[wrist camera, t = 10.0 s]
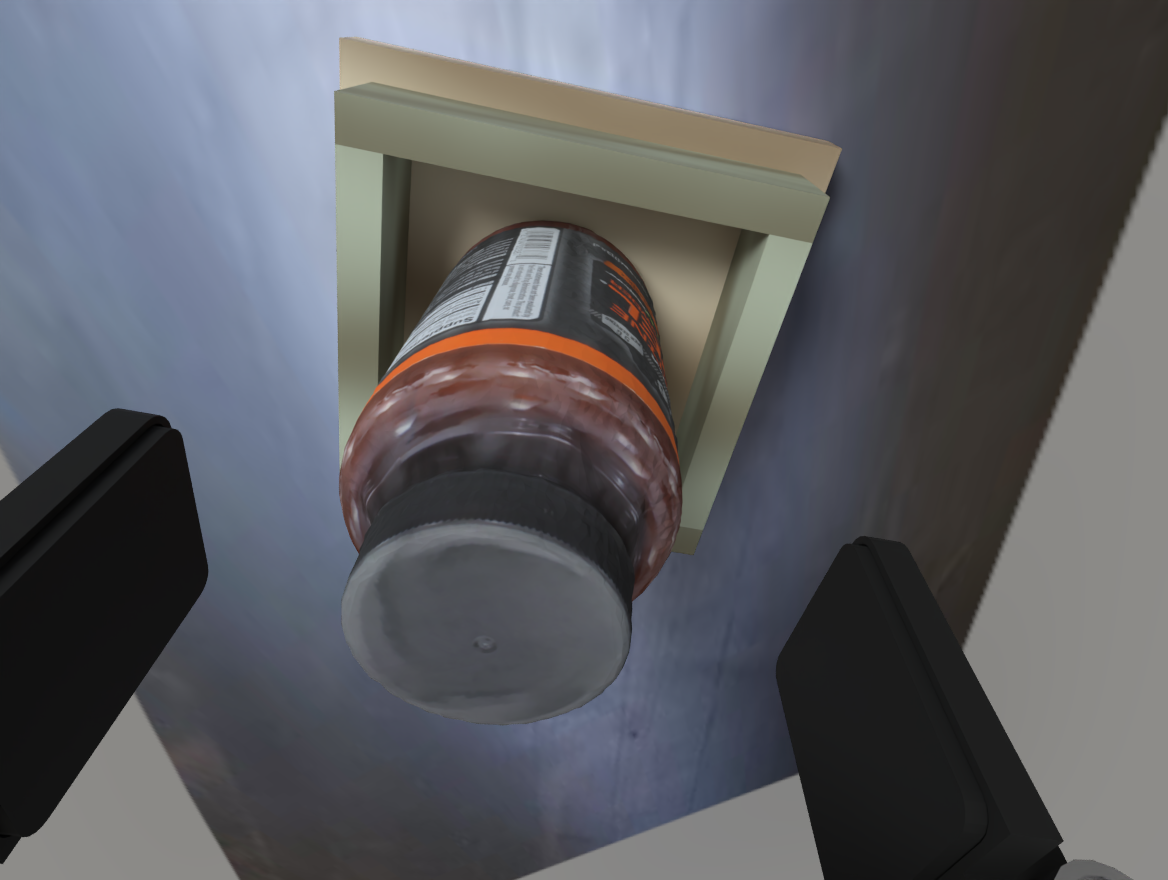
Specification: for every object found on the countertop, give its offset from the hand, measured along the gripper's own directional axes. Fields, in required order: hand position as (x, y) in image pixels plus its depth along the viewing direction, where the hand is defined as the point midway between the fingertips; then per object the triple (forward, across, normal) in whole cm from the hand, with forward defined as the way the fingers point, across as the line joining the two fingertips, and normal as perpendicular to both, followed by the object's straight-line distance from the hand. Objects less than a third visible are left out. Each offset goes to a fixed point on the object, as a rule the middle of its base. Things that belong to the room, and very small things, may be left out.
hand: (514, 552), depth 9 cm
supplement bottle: (+10, 0, +1) cm, 10 cm away
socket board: (+11, 0, +1) cm, 11 cm away
